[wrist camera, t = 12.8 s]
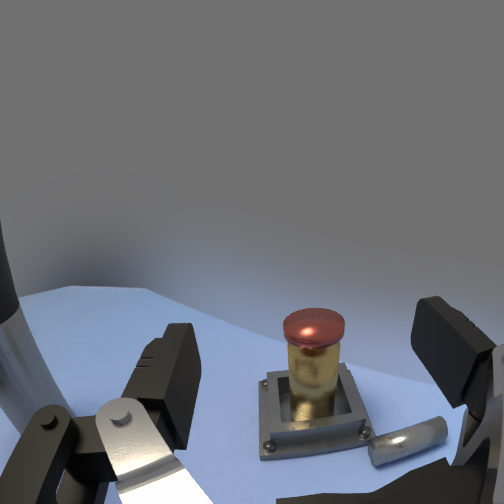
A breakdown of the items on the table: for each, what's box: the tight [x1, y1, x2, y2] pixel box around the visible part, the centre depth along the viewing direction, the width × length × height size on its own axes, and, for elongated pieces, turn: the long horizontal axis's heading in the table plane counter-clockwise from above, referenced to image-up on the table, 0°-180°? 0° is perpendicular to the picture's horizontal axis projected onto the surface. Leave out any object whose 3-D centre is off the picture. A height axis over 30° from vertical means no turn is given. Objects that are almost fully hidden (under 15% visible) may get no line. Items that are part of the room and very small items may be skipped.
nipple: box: [368, 416, 448, 466], centre depth 21 cm, size 8×3×3 cm
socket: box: [259, 363, 376, 460], centre depth 29 cm, size 12×12×4 cm
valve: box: [283, 308, 345, 421], centre depth 27 cm, size 6×6×12 cm
